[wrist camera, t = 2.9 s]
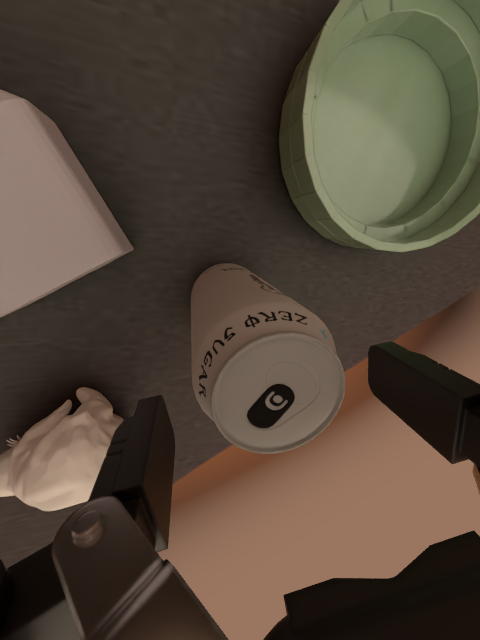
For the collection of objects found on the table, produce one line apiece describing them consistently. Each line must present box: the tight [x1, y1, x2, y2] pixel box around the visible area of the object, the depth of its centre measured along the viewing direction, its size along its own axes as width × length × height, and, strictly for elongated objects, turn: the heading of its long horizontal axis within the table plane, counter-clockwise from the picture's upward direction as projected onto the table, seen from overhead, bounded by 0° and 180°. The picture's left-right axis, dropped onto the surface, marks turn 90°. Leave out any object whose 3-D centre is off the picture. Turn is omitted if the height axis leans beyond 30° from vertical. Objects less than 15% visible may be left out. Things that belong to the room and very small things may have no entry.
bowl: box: [279, 0, 480, 252], centre depth 19 cm, size 16×16×5 cm
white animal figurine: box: [0, 387, 124, 511], centre depth 21 cm, size 6×8×12 cm
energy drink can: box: [191, 263, 345, 454], centre depth 16 cm, size 6×6×15 cm
